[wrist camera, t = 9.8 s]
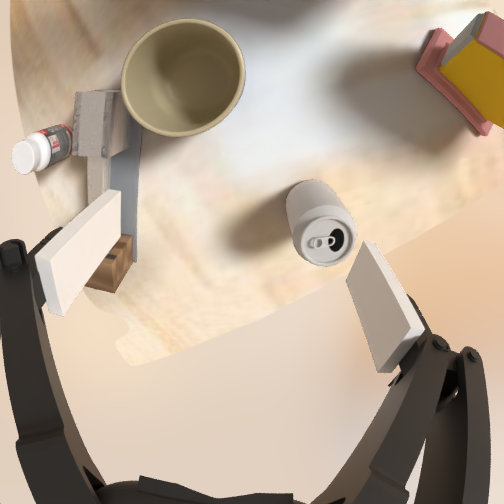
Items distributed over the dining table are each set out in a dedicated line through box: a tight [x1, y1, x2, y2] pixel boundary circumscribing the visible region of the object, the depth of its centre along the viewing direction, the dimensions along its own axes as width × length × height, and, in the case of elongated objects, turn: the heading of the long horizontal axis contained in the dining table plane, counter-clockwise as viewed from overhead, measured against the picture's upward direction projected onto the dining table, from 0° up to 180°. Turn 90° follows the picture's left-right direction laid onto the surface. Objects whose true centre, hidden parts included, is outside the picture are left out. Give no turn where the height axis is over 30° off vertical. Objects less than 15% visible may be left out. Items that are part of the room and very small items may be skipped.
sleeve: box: [72, 90, 133, 158], centre depth 31 cm, size 8×5×8 cm
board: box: [95, 90, 143, 262], centre depth 39 cm, size 27×8×1 cm, turn 169°
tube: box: [71, 157, 112, 254], centre depth 34 cm, size 22×4×8 cm, turn 169°
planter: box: [121, 19, 245, 137], centre depth 28 cm, size 12×12×11 cm
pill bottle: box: [12, 124, 73, 175], centre depth 32 cm, size 6×6×10 cm
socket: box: [84, 233, 133, 293], centre depth 41 cm, size 5×7×9 cm
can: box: [285, 180, 357, 267], centre depth 36 cm, size 8×8×12 cm
